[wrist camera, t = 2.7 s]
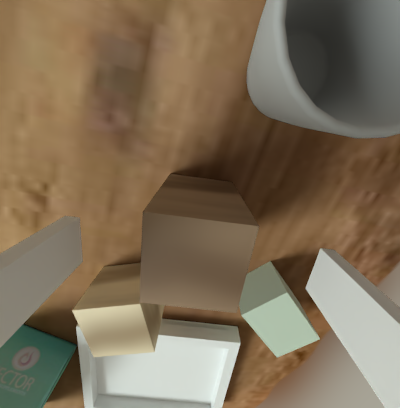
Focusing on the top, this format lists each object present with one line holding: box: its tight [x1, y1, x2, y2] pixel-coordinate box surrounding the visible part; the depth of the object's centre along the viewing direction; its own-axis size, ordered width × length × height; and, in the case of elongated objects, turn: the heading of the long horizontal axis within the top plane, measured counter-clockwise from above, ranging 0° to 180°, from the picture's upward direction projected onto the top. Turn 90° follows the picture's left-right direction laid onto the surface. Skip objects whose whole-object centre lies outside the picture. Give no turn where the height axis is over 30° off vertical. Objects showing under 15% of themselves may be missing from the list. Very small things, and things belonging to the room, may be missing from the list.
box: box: [0, 324, 77, 408], centre depth 21 cm, size 7×14×8 cm, turn 148°
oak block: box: [72, 263, 165, 357], centre depth 18 cm, size 5×5×5 cm
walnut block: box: [139, 174, 259, 313], centre depth 13 cm, size 5×5×8 cm
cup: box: [247, 0, 400, 138], centre depth 10 cm, size 8×10×8 cm
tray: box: [76, 319, 240, 408], centre depth 23 cm, size 14×16×2 cm
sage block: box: [239, 261, 320, 357], centre depth 18 cm, size 6×4×4 cm, turn 35°
